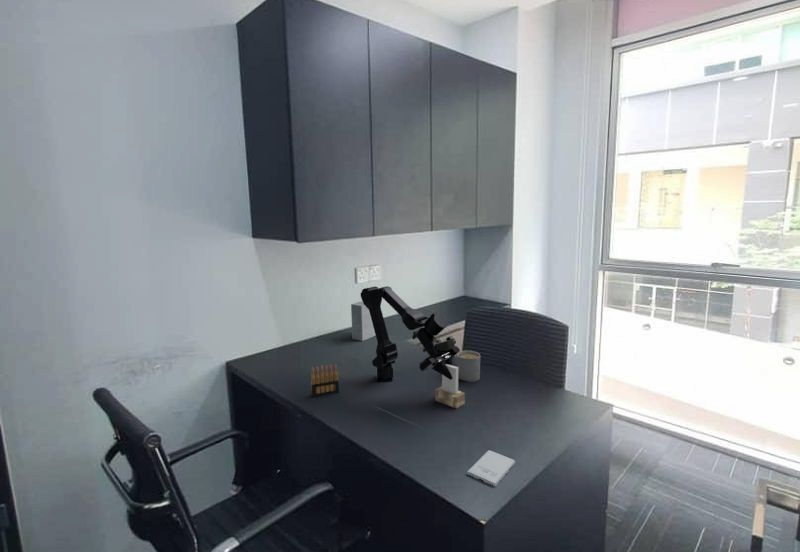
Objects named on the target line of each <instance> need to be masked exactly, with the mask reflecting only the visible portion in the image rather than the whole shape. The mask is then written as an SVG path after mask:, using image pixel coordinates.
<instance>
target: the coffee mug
mask: <svg viewBox="0 0 800 552" xmlns="http://www.w3.org/2000/svg"><path fill="white" fill-rule="evenodd" d="M454 364H455V367H458V380H462V381H466V382H468V383H472V382H473V383H474V382H477V381H479V380H480V378H481V374H480V373H481V354H480V353H479V352H477V351H474V350H460V352H458V353H457V354H456V355H455V356H454Z"/></svg>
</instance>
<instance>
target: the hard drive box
mask: <svg viewBox="0 0 800 552" xmlns="http://www.w3.org/2000/svg"><path fill="white" fill-rule="evenodd" d="M350 307H351V309H350V311H351V336H352V340H356V341H360V342H363V341H366V340H369V339H371V338H373V337H376V334H375V331H374V327H373V323H372V319H371V316H370V312H369V309H368V308H367V307H366V306H365V305H364V304H363V301H362V300H360V301H357V302H354V303H352V304H350Z"/></svg>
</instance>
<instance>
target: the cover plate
mask: <svg viewBox="0 0 800 552" xmlns="http://www.w3.org/2000/svg"><path fill="white" fill-rule="evenodd" d="M445 365H446V367H447V369H448V370H449V372H450V374H451V375H452V378H453V379H451V380H450V379H448V378H447V377H445V376H444V375H442V374H441V387H442V391H445V392H448V393H451V394H454V395H457V394H458V391H459V378H458V367H456V365H453V366H452V365H449V364H445Z"/></svg>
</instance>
